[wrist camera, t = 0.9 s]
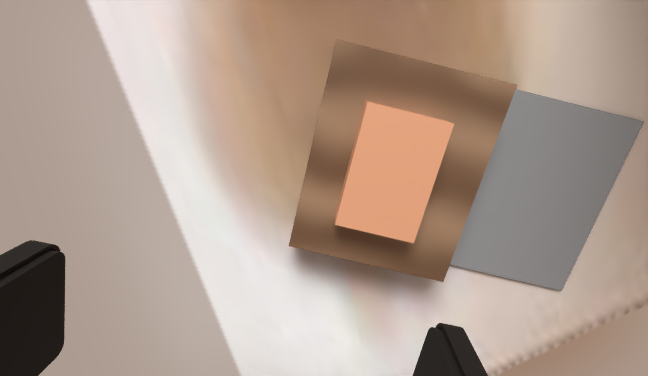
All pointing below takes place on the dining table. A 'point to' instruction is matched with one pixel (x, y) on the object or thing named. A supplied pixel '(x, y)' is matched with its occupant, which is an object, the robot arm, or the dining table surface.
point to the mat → (543, 189)
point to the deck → (454, 173)
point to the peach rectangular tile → (391, 171)
